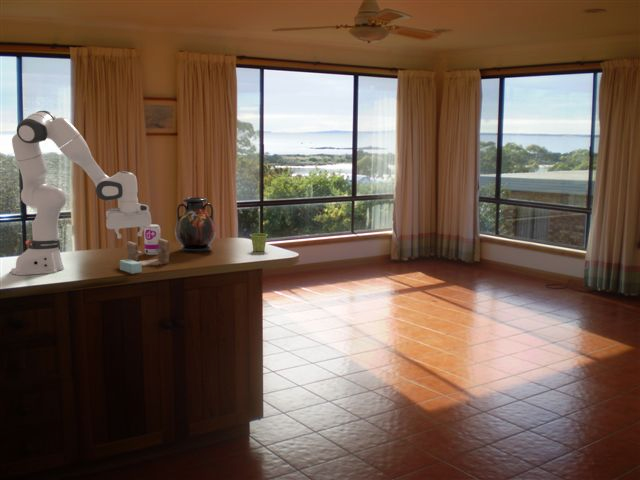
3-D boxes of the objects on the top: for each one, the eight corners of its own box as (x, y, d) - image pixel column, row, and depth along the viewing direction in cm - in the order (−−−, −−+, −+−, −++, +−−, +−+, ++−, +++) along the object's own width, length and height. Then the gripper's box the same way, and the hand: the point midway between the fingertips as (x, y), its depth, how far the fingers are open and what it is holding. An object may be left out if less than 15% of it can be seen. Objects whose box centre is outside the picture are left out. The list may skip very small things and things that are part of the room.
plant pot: (271, 250, 373) (271, 234, 372) (260, 252, 366) (260, 236, 364) (257, 248, 378) (257, 232, 377) (246, 251, 371) (246, 235, 369)
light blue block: (132, 274, 312) (131, 264, 311) (120, 269, 321) (119, 260, 320) (141, 272, 315) (141, 263, 314) (129, 268, 324) (129, 259, 323)
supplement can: (157, 255, 355) (156, 226, 353) (142, 254, 357) (141, 226, 355) (163, 252, 363) (162, 224, 361) (149, 252, 365) (148, 223, 363)
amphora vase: (176, 254, 358) (174, 201, 354) (174, 247, 379) (173, 196, 374) (217, 253, 363) (217, 200, 359) (214, 246, 384) (213, 196, 379)
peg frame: (134, 267, 326) (134, 244, 324) (128, 264, 333) (127, 241, 331) (169, 263, 335) (168, 241, 334) (161, 260, 343) (161, 238, 341)
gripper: (107, 209, 304) (109, 240, 307) (152, 206, 316) (153, 236, 318) (103, 208, 309) (104, 238, 312) (147, 204, 321) (148, 234, 323)
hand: (129, 237), depth 315 cm, fingers open, 8 cm apart
